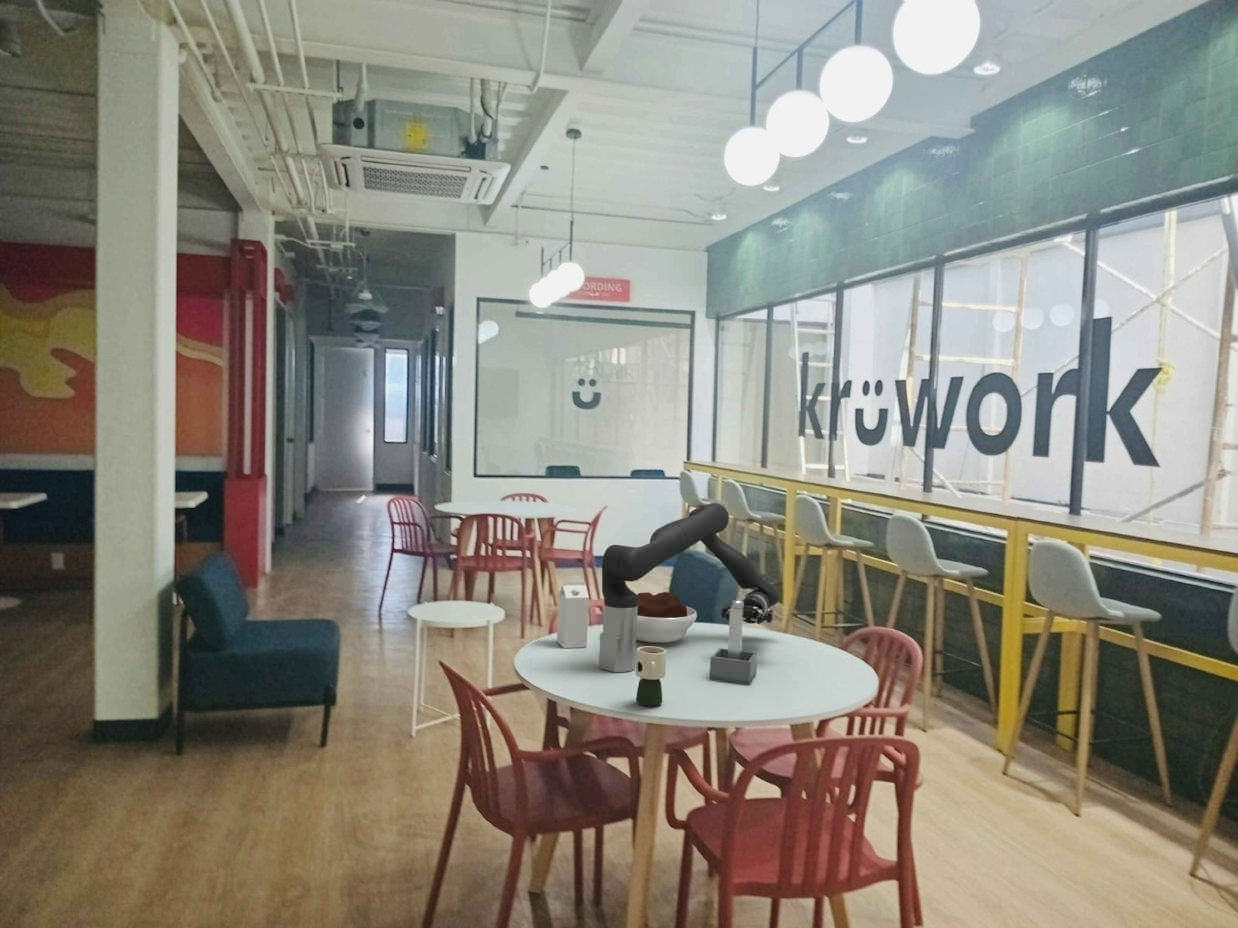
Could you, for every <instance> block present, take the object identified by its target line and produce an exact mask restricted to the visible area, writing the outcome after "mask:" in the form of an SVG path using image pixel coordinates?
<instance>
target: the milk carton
mask: <svg viewBox="0 0 1238 928" xmlns="http://www.w3.org/2000/svg"><path fill="white" fill-rule="evenodd" d="M589 603H590V596H589V592H588V588H587V583H586V581H562V586H561V588H560V590H559V593H558V605H557V606H558V611H557V612H558V613H557V629H556V630H557V635H556V643H558V645H560V646H561V647H562V648H564V649H574V648H577V649H578V648H587V645H588V627H589V626H588V625H589V624H588V623H589V622H588V621H589V605H590V604H589Z"/></svg>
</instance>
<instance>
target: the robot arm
mask: <svg viewBox="0 0 1238 928" xmlns="http://www.w3.org/2000/svg"><path fill="white" fill-rule="evenodd" d="M729 519H730V515H729V511H728V510H727V509H726V508H725V506H723V505H722V504H720V503H717V502H711V503H708V504H705V505H702V506H700V507H698V508H695V509H693V510H691V511H690V512H689V514H688V516H686V517H682V518H680V519H677V520H673V521H671V522H667V524H664V525H662V526H660V527H659V528H657V529H656V530H655V531H654V532H652V535H651V536H650V540H649V543H647V544H644V545H641V546H637V547H636V546H630V545H629V546H627V545H621V544H612V545H609V546H607V548H606V550H605V551H604V553H603V556H602V560H601V561H602V563H601V591H602V593H601V594H602V596H603V603H604V604H603V618H602V619H603V621H602V632H601V633H600V635H599V637H600V638H599V653H598V654H599V657H598V669H602V670H605V671H609V672H612V673H614V674H615V673H622V672H623V673H626V672H631V671H634V670H636V653H637V639H636V636H637V615H638V596H637V593H636V592H634V591H633V590H631V589H630V588H629V587H628V585H627V582H636V581H638V580H639V581H640V580H641V579H642V578H643V577H645V576H646V575H647V574H649V573H650V572H651V571H653V570H654V569H655V568H657V567H658V566H660V565H662V564H663V563H665V562H666V561H668V560H670V559H673V558H674V557H676V556H678V555H680V554H681V553H683V552H685V551H686V550H688V549H690V548H691V547H693V546H694V545H695V544H697V543H699V542H701V543H702V544H703V545H704V546H705V547H706V548H707V549H708V550H709V551H710V552H711V553H712V554H713V555H714V556H715V557H716V558H717V559H718V560H719V561H720V562H721V563H722V564H723V565H724V568H726V569H727V570H728V572H729V573H730V575H731V576H732V578H733V580H735V582H736V584H737V585H738V586H739V588H740V589H743V590H748V589H753V588H755V589H754V590H751V591H750V592H748V593H747V594H746V595H744V599H742V600H741V601H744V608H743V622H744V623H746V624H758V625H760V624H762V623H765V621H766V623H768V624H771V623H772V621H773V620H774V619H773V618H774V610H773V609H769V608H772V607H773V606H775V605H777V604H778V603H779V601H780V594H779V592H778V590H777V588H776V587H775V586H774V585H772V584H771V583H770V582H769V581H767V580H766V579H765V578H764V577H762V576H761V575H760V574H759V573H758V572H757V570H756V568H755V567H754V566H753V564H752V563H751V562H750V560H749V559H748V558H747V556H745V554H743V553H742V552H740V551H739V550H738V549H736V548H734V547H733V546H731V545H729V544H728V543H726V542H725V541H723V540H722V539H721V538H720V537H719V536H718V535H717V534H718V533H721V532H723V531H725V529H726V528H727V527H728V524H729ZM721 618H725V620H726V621H730V604H727V605H725V606H723V607H722V608H721Z"/></svg>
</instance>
